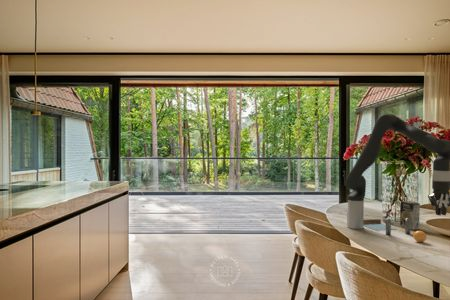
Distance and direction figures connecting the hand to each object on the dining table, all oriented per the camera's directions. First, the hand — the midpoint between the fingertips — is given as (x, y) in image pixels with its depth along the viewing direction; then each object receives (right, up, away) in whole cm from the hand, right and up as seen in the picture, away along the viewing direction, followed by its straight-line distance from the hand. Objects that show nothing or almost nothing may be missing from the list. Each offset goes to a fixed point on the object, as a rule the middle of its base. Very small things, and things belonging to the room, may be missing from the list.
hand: (440, 214), depth 161 cm
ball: (-3, -14, +13) cm, 19 cm away
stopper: (-12, -17, +56) cm, 60 cm away
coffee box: (+10, -17, +45) cm, 49 cm away
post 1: (-12, -17, +27) cm, 34 cm away
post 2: (0, -17, +30) cm, 34 cm away
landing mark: (-9, -17, +45) cm, 49 cm away
